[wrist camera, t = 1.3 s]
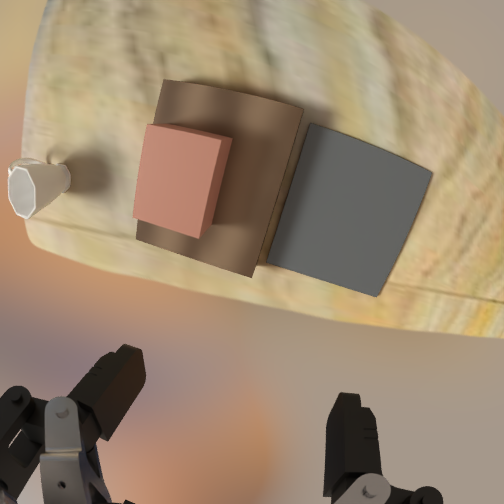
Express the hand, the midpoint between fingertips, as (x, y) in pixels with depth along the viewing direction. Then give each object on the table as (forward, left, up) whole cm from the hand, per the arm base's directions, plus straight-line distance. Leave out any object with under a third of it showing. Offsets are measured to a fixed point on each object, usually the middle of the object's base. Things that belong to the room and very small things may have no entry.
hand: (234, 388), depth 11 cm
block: (-10, +2, -20) cm, 23 cm away
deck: (-8, +2, -23) cm, 25 cm away
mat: (+7, +2, -23) cm, 24 cm away
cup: (-32, -3, -23) cm, 40 cm away
